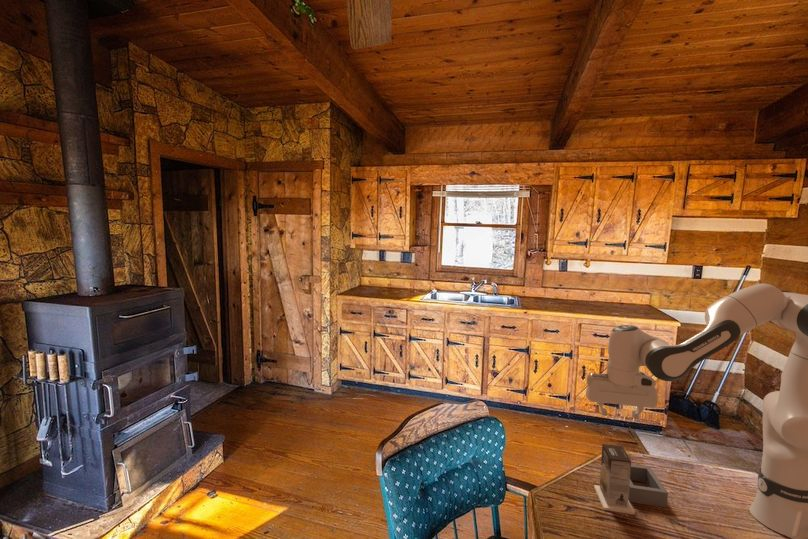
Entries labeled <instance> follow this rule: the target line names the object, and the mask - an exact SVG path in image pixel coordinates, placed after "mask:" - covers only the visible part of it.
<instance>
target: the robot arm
mask: <svg viewBox="0 0 808 539" xmlns="http://www.w3.org/2000/svg"><path fill="white" fill-rule="evenodd" d="M704 320H705V322H706V326H705V328H704V329H703V330H701V331H700V332H698V333H697V334H695V335H693V336H692V337H690V338H688V339H686V340H685V341H684V342H682V343H680V344H673V345H672V344H669V343H668V342H667V341H665V340H663V339H662V338H660V337H657V336H653V335H650V334H648V333H647V332H645V331H644V330H641V329H640V328H639V327H638V326H636V325H629V324H627V325H626V324H623V325H622V324H621V325H617V326H615V327H613V328H612V329H611V331H610V334H609V338H608V346H607V353H608V361H607V363H606V373H596V372H592V373H589V374H588V375H587V376H586V384H587V385H586V389H585V396H586V398H587V399H588V401H589V402H592V403H593V402H594V403H597V405H598V407H599V408H600V412H599V413H600V415H601V416H605V417H608V416H607V415H608V414H607V413H608V410H607V409H606V408H604V407H603V406H604V405H605V404H610V405H611V404H613V405H622V406H630V407H636V409H635V411H631V418H633V420H639V419H640V415H641V413H642V412H643V411H644V408H649V409H650V408H652V409H654V408H656V407H657V406H658V402H659V401H658V399H659V398H658V390H657V389H656V387H655V386H656V384H657V382H656V380H655V379H654V378H653V377H652V376H654V377H655V378H657V379H658V380H661V381H663V382H675V381H679V380H682V379H683V378H684V377H685V376H687V374H688V373H689V372H691V370H692V369H693V368H694V367H695V366H696V365H698V364H699V363H701V362H702V361H704V360H706V359H707V358H710V357H711V356H713V355H714V354H717V353H718V352H720V351H721V350H723V349H725V348H726V347H728V346H730V345H731V344H732V343H734V342H735V341H737V340H738V338H740V336H742V335H744V334H745V333H748V332H749V331H752V330H753V329H755V328H757V327H759V326H761V325H764V324H766V323H768V322H769V323H771V324H774V325H777V326H779V327H780V328H783V329H785V330H787V331H790V332H794V333H795V341H794V343H793V344H792V346H791V349H790V351H789V354H788V355H787V356H788V357H787V358H786V362H785V364H784V366H783V369H782V372H781V375H780V385H779V386H780V388H779V390H776V391H772V392H769V393H767V394H766V395H765V396H764V397H763V400H762V440H763V444H762V448H763V449H762V457H761V467H760V468H759V470H758V475H757V476H758V477H757V490H756V494H755V497H754V499H753V501H752V503H751V505H750V506H749V512H750V514H751V515H752V517H754V519H755V520H757V521H758V522H759V523H760V524H762V525H763V526H766V527H767V528H769V529H770V530H772V531H774V532H776V533H779V534H781V535H784V536H786V537H788V538H790V539H808V294H803V293H796V292H792V291H789V290H781V289H779V288H778V287H776V286H775V285H773V284H770V283H765V282H764V283H763V282H762V283H757V284H753V285H750V286H747V287H743V288H741V289H739V290H736V291H733V292H731V293H729V294H727V295H725V296H723V297H721V298H719V299H718V300H716V301H714V302H712V303H711V304H710V305H709V306H708V307H707V308H706V309H705V312H704ZM640 367H646V368H647V369H648V371H649V372H650V373H651V374H652V376H651V375H649V374H647V373H646V372H643V371H640Z"/></svg>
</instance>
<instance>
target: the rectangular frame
mask: <svg viewBox="0 0 808 539" xmlns="http://www.w3.org/2000/svg"><path fill="white" fill-rule="evenodd" d="M633 481H635V482H643V481H644V482H643V483H646V484H647V486H642V485H641V486H640V485H636V484H634V483H633ZM668 496H669V493H668V491H667V490H666V488H665V486H664V485H663V483H661V481H660V480H659V478H658V477H657V475H656V474H655V473H654V471H653V470H652V468H651V467H650V466H648V465H647V466H646V465H638V464H632V463H631V471H630V483H629V495H628V500H629V502H630V503H636V504H642V505H650V506H655V507H660V508H667V507H668Z"/></svg>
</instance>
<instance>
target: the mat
mask: <svg viewBox="0 0 808 539" xmlns="http://www.w3.org/2000/svg"><path fill="white" fill-rule="evenodd" d="M593 485H594V486H593V489H594V491H595V492H596V496H597V498H598V500H599V502H600V505H601V507H602V509H603V510H604V511H610V512H618V513H621V514H629V515H634V516H635V514H636V512H635V510H634V508H633V506H632V504H631V502H629V500H628V508H624V507H618V506H611V505H607V503H606V501H605V498H604V496H603V494H602V491H601V489H600V485H597V484H593Z"/></svg>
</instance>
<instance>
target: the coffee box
mask: <svg viewBox="0 0 808 539" xmlns="http://www.w3.org/2000/svg"><path fill="white" fill-rule="evenodd" d="M600 462H601V463H600V475H599V476H600V477H599V486H600V489H601V491H602V494H603V496H604V498H605V501H606V503H607V505H611V506H618V507H624V508H628V495H629V483H630V471H631V464H632V460H631V459H630V457H629V455H628V453H627V451H626V450H625V448H624V446H623V445H616V444H615V445H614V444H606V443H605V444H604V443H602V447H601V460H600Z"/></svg>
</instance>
